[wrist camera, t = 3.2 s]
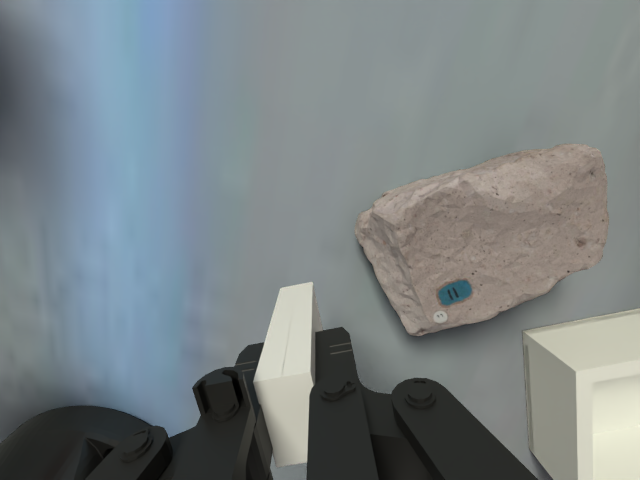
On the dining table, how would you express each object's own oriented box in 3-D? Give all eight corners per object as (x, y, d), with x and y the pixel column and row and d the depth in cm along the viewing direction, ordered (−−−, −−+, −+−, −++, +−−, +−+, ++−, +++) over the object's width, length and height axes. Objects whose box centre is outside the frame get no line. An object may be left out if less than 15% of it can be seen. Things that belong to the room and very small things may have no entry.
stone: (393, 323, 24) (422, 371, 18) (344, 207, 22) (359, 221, 16) (561, 251, 23) (646, 277, 18) (526, 126, 21) (609, 109, 16)
